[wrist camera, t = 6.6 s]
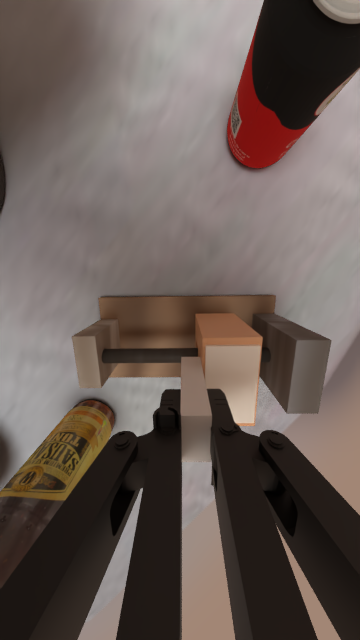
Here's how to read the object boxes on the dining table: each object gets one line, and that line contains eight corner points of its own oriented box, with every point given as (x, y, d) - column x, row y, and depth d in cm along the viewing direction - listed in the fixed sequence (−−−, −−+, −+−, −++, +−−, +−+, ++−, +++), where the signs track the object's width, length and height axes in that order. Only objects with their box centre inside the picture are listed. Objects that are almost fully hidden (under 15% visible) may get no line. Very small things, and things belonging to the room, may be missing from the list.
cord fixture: (109, 374, 26) (66, 434, 16) (101, 297, 23) (44, 315, 14) (264, 373, 25) (314, 434, 16) (272, 295, 23) (336, 312, 13)
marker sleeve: (195, 313, 21) (202, 339, 13) (233, 313, 21) (264, 338, 13) (195, 374, 22) (201, 428, 15) (230, 373, 22) (256, 428, 15)
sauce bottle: (114, 396, 26) (-70, 734, 7) (118, 435, 28) (-25, 800, 9) (65, 397, 27) (-243, 729, 7) (72, 435, 28) (-168, 795, 9)
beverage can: (229, 179, 20) (292, 54, 9) (220, 104, 19) (283, -172, 7) (291, 165, 20) (447, 15, 8) (288, 88, 18) (472, -231, 7)
